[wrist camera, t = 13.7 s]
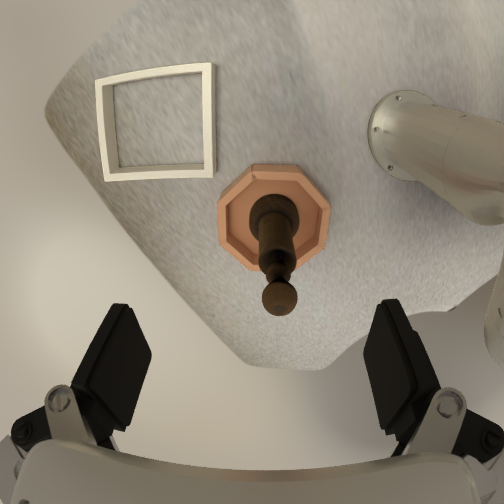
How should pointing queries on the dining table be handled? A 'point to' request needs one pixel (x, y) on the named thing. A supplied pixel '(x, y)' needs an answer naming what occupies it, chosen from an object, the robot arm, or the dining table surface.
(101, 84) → the open rectangular frame
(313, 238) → the terracotta bowl
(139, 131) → the dining table surface
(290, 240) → the dark brown knobbed post
